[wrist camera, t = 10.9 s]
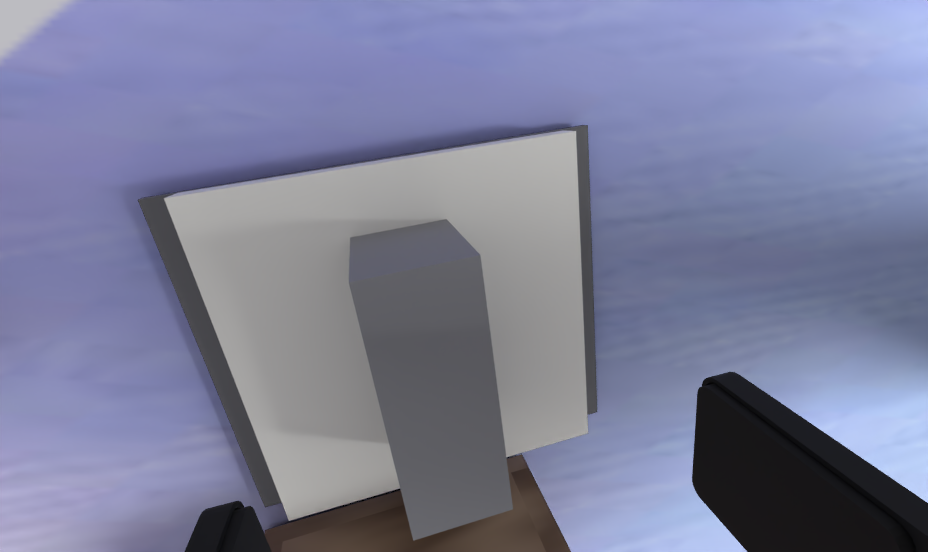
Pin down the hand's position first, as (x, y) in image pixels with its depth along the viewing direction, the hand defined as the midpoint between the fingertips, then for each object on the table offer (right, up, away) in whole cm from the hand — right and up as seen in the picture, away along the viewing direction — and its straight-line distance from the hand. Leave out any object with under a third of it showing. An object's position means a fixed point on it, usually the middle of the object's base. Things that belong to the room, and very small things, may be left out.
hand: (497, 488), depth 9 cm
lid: (-2, +2, +7) cm, 8 cm away
